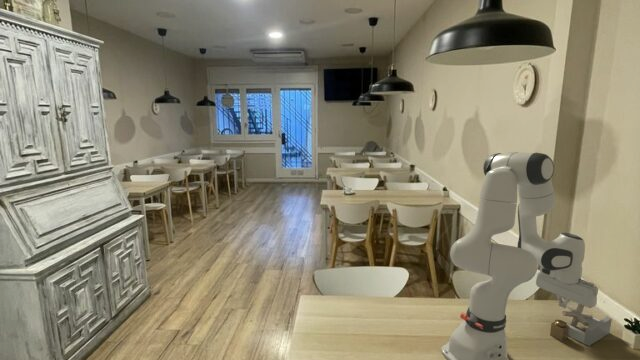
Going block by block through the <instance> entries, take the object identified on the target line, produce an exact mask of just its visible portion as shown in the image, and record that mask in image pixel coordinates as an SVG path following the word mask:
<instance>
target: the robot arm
mask: <svg viewBox="0 0 640 360" xmlns="http://www.w3.org/2000/svg"><path fill="white" fill-rule="evenodd" d="M482 171H483V174H484V179H483V181H482V186H481V189H480V196H479V201H478V202H479V203H478V204H479V205H478V209H477V215H476V220H475V223H474V225H473V226H472V228H471V230H469V232H468V233H467V234H466V235H464V236H462V237H461V238H459V239H457V240H456V241H454V242H453V244H452V245H451V247H450V252H449V254H450V255H449V256H450V259H451V262H452V263H453V265H454V266H455V267H457V268H460V269H462V270H465V271H467V272H471V273H475V274H480V275H484V276H489V277H491V278H489V279H488V280H487V279H486V280H483V281H479V282H477V283H475V284H474V285H472V287H471V289H470V294H469V306H468V308H467V310H466V313H464V312H461V313H460V314H459V317H460V319H462V320H463V321H462V322H461V323H460V324H459V325H458V327H456V329H455V330H453V332H452V334H450V338H449V341H448V342H446V343H445V344H444V345H443V346H441V348H440V351H441V353H442V355H443V356H444V358H445V359H447V360H510V359H509V357H508V338H507V335H506V330H505V328H506V324H507V315H506V308H507V303H508V299H509V297H510V295H511V292H512V291H513V290H514V289H515V288H516V287H518V286H520V285H522V284H524V283H526V282H529V281H530V280H532V279H533V278H534V277H536V278H535V279H536V280H535V285H536V286H537V288H540V289H542V290H545V291H547V292H549V293H551V294H555V295H556V296H555V297H556V299H557V301H558V306H559V307H561V308H562V309H566V308H568V307H567V306H568V303H570V302H573V303H576V304H577V305H578V304H580V305H583V306H584V308H589V309H591V308H594V307H596V306H597V305H598V304H597V302H598V301H597V300H598V297H597V296H598V295H599V294H598V293H599V289H598V287H597V286H596V285H595V284H594V283H593V282H589V281H587V280H585V279H582V274H583V267H582V266H583V262H584V259H585V252H586V243H585V241H584V239H583V238H582V237H580V236H578V235H577V234H573V233H569V232H561V233H560V234H559V236H557V237H556V238H555V239H553V240H551V241H547V240H545V239H544V238H543V237H541V236H540V235H539V233H538V228H537V217H541V216H543V215H546V214H548V213H550V212H551V211H552V210H553V209H554V208H555V206H556V195H555V189H554V184H553V181H552V177H553V176H554V172H555V164H554V161H553V160H552V158H551V157H550V156H549V155H547V154H545V153H542V152H534V153H533V152H519V151H514V152H513V151H511V152H504V153H500V152H498V153H493V154H491V155H489V156H487V158H486V160H485V161H484V163H483V170H482ZM518 199H519V204H518ZM517 204H518V206H517ZM516 213H517V219H518V221H517V222H518V233H519V234H518V241H517V246H515V245H507V244H500V243H497V242H496V243H495V242H492V241H491V239H492V238H493V236H495V235H499V234H503V233H506V232H508V231H511V230H512V229H513V228H514V226H515V222H516ZM538 266H539V272H538V273H537V271H538ZM536 274H537V275H536Z"/></svg>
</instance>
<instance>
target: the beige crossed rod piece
mask: <svg viewBox="0 0 640 360" xmlns="http://www.w3.org/2000/svg"><path fill="white" fill-rule="evenodd" d="M566 308H567V309H568V310H569V311H568V310H563V311H562V316H564V317H569V318H570V317H571V318H572V320H571V322H570V325H571V326H573V327H575V328H577V326H578V323H579V322H581V324H582V325H583V326H585V327H587V326H588V327H589V323H588V322H587V321H586V320H585V319H593V317H594V316H593V314H590V313H586V314H584V313H585V312H583V311H584V308H585V306H583V305H580V304H578V303H577V307H576V308H575V306H574V305H572V304H567V307H566ZM582 312H583V313H582Z"/></svg>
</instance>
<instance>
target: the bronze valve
mask: <svg viewBox="0 0 640 360" xmlns="http://www.w3.org/2000/svg"><path fill="white" fill-rule="evenodd" d="M550 324H551V326H550V332H549V335H550V337H552V338H555V339H556V340H558V341H560V342H563V341H565V340H567V339H568V337H569V336H568V332H569V325H570V324H569V325H567V324H568V323H567V322H566V321H564V320H561V319H558V320H557V319H555V320H554V321H553V322H551V323H550Z"/></svg>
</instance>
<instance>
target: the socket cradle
mask: <svg viewBox="0 0 640 360" xmlns="http://www.w3.org/2000/svg"><path fill="white" fill-rule="evenodd" d="M582 313H584V314H587V313H585V312H583V311H582ZM556 320H559V319H558V318H556ZM585 320H586V321H587V322H588V323H589V325H588V327H586V328H585V331H583V330H580V329H579V328H577V327H573V326H571V324H568V323H567V325H569V332H568V337H570V338H572V339H573V340H576V341H578V342H580V343H582V344H584V345H585V346H588V347H589V346H591V345H592V344H595V343H596V342H597V341H599V340H601V339H603V338H604V337H605V336H607V335H609V334H610V332H611V327H612V326H611V325H612V320H613V318H612V317H610V316H605V317H603V318H602V319H599V318H597V317H594V316H593V319H585Z"/></svg>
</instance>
